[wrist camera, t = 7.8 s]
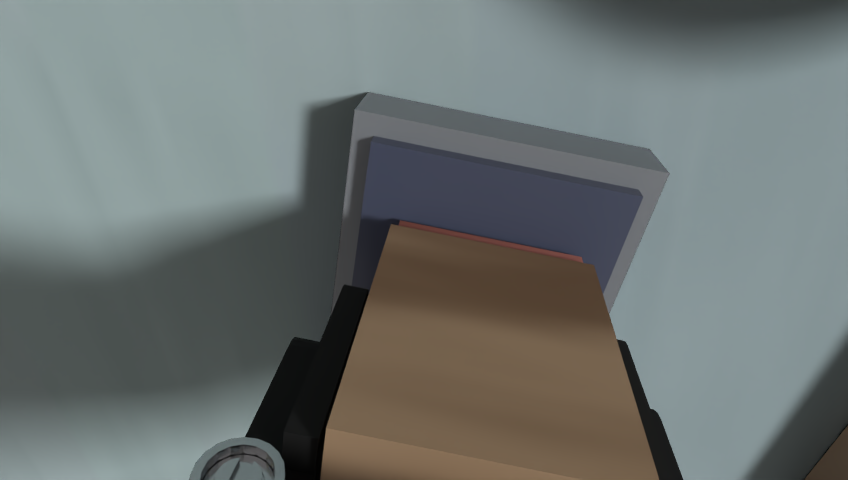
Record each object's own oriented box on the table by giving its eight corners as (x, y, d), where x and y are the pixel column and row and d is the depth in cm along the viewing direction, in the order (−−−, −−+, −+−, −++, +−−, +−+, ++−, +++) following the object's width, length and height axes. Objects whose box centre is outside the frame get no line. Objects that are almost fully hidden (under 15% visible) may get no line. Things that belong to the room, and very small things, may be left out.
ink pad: (368, 92, 13) (350, 114, 11) (650, 149, 13) (675, 180, 11) (333, 366, 18) (317, 413, 16) (545, 409, 18) (551, 460, 16)
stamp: (394, 213, 12) (280, 570, 6) (590, 252, 12) (714, 657, 6) (370, 358, 15) (270, 731, 8) (535, 391, 15) (574, 793, 8)
